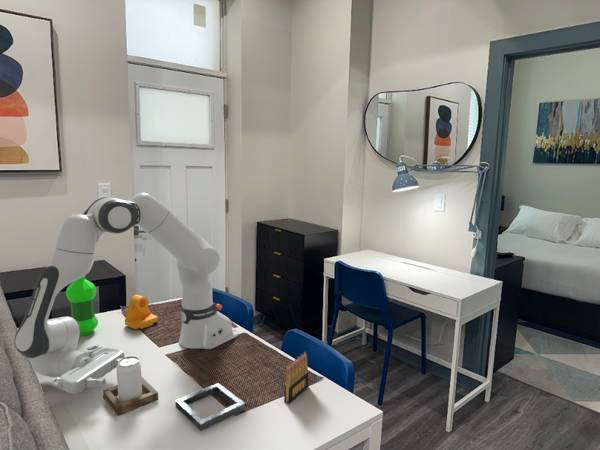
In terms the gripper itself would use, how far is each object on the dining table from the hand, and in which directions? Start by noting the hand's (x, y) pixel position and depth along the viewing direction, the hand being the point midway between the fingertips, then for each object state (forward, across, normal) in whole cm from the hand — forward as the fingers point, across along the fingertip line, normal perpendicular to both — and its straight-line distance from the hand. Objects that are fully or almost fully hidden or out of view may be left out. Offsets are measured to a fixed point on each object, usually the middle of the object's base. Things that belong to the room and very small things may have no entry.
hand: (115, 374), depth 125 cm
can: (+5, 0, +7) cm, 9 cm away
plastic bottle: (-42, +31, +7) cm, 53 cm away
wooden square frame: (+5, 0, +7) cm, 8 cm away
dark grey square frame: (+29, +3, +7) cm, 30 cm away
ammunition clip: (+50, +18, +7) cm, 53 cm away
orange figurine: (-26, +45, +7) cm, 52 cm away
